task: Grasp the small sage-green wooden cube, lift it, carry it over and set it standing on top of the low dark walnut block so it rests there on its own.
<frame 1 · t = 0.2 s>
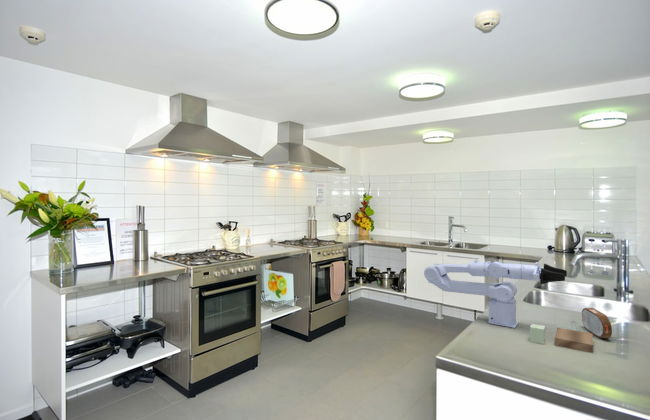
hand: (565, 275, 126), 21 cm above the countertop, tool horizontal, fingers open, 7 cm apart
tin: (595, 334, 127), on the countertop
sage cube: (537, 341, 120), on the countertop
walnut block: (573, 344, 119), on the countertop
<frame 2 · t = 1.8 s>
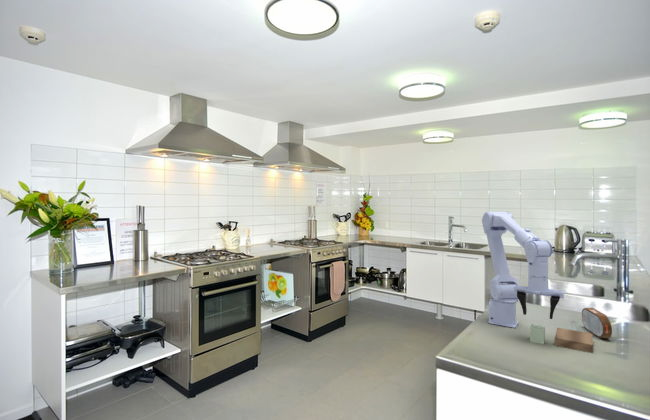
hand: (537, 316, 120), 9 cm above the countertop, tool pointing down, fingers open, 7 cm apart
nothing on the countertop moved.
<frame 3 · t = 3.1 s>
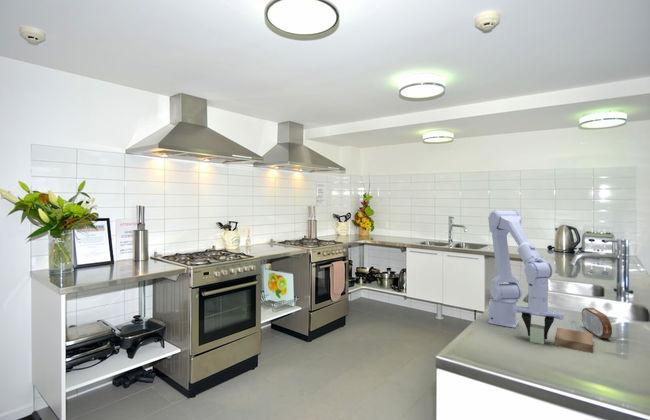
hand: (537, 336, 120), 1 cm above the countertop, tool pointing down, fingers closed on sage cube, 4 cm apart
sage cube: (537, 341, 120), on the countertop, touching gripper
everything else where it was.
when the fingers open (5 cm above the countertop, at t = 7.5 s): sage cube drops 1 cm, point 2 cm above the countertop.
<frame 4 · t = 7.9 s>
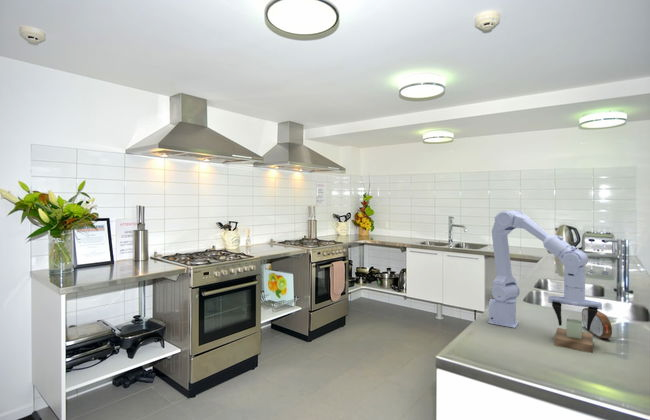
hand: (574, 327, 118), 5 cm above the countertop, tool pointing down, fingers open, 7 cm apart
sage cube: (574, 335, 118), point 2 cm above the countertop
everything else where it was.
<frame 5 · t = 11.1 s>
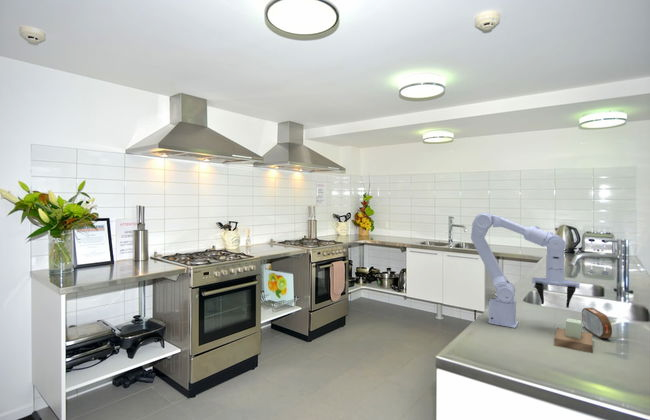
hand: (554, 305, 130), 9 cm above the countertop, tool pointing down, fingers open, 7 cm apart
nothing on the countertop moved.
at the end: sage cube inside the target area on the walnut block (0.2 cm from its centre), point 3.0 cm above the walnut block's base; sage cube tilted 0°; the gripper is holding nothing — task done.
